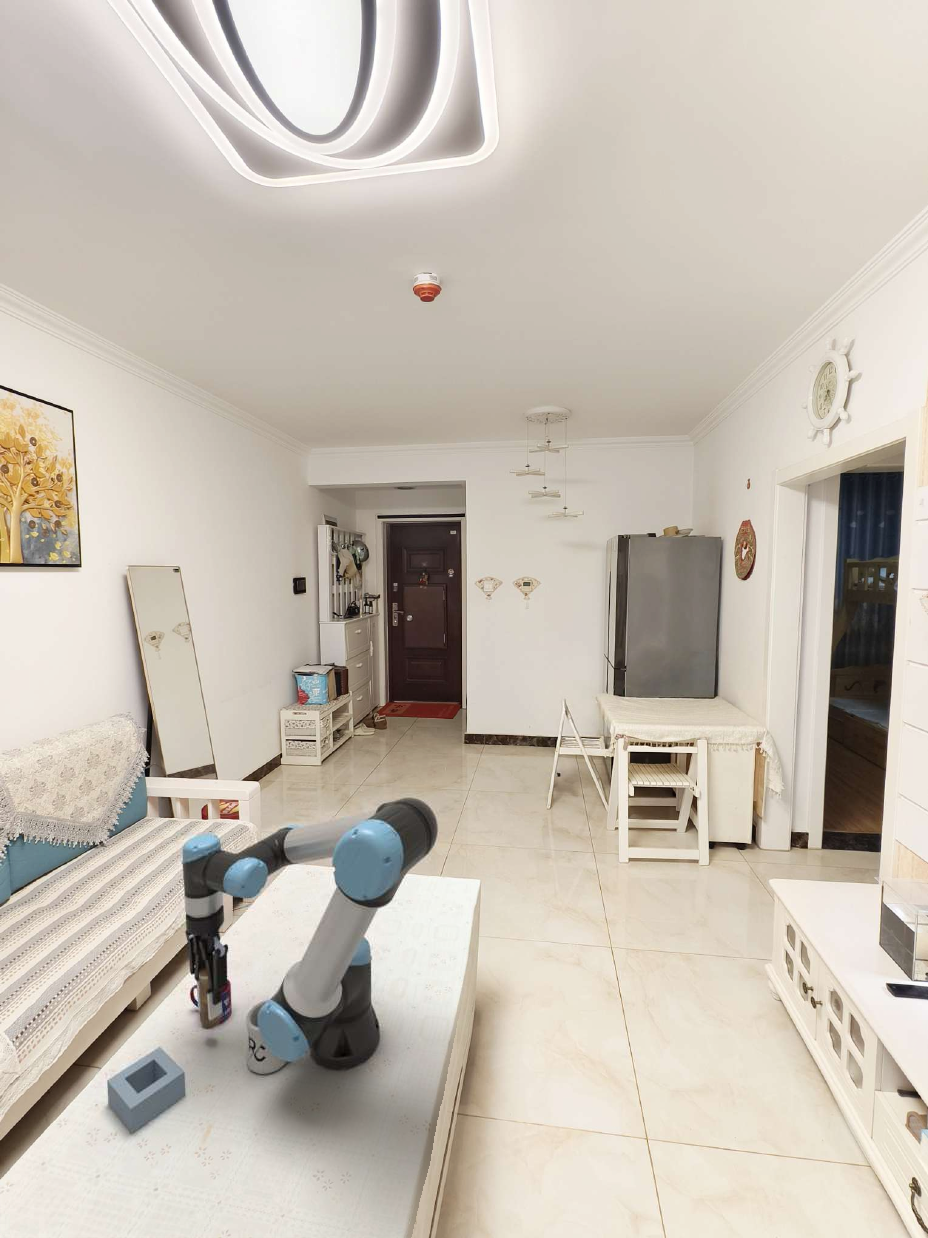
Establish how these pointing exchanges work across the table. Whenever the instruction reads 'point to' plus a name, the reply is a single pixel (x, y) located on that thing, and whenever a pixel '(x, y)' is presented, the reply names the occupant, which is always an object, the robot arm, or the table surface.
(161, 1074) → the socket block
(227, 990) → the cup
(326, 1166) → the table surface
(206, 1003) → the dowel
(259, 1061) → the mug
